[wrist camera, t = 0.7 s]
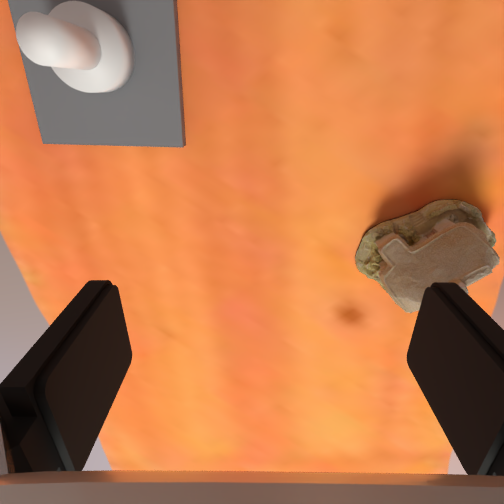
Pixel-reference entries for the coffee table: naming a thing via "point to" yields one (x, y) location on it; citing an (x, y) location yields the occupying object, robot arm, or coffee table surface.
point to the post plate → (126, 106)
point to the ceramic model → (428, 251)
